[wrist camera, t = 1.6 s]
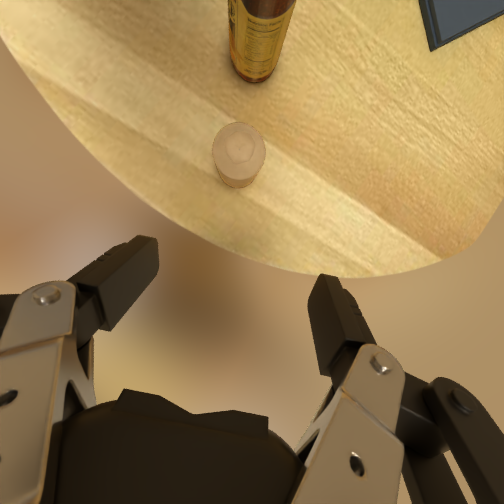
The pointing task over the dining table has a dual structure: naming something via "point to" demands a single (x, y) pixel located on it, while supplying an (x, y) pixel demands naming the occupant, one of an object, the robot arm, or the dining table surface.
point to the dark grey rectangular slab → (456, 18)
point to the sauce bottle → (257, 35)
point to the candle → (238, 154)
